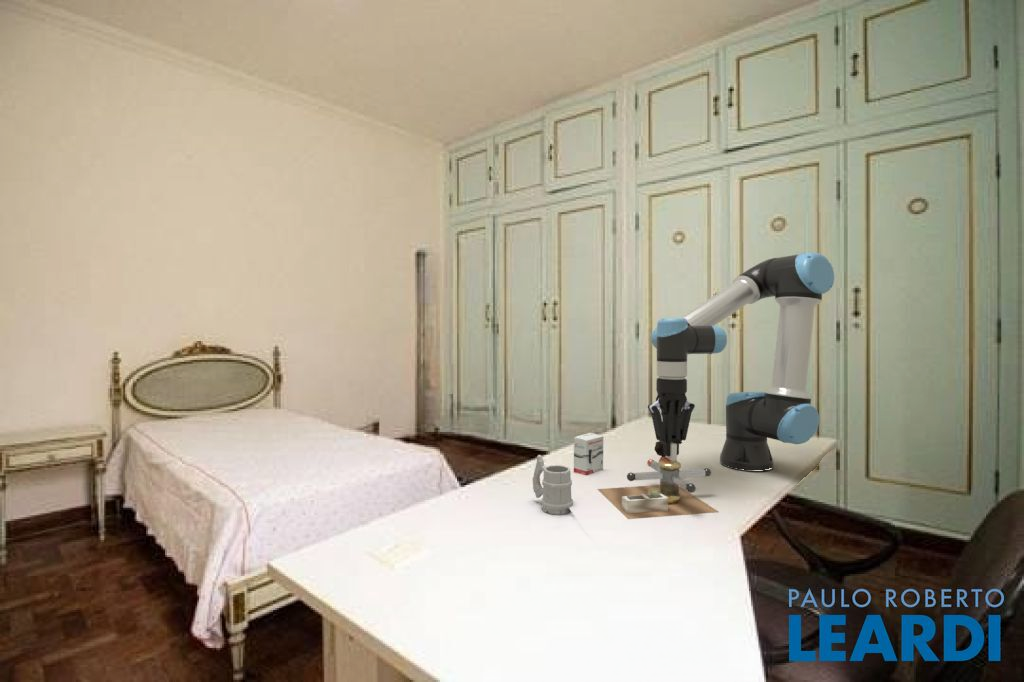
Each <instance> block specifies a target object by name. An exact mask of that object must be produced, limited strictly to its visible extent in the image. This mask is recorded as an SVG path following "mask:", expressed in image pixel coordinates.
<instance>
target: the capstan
mask: <svg viewBox="0 0 1024 682" xmlns="http://www.w3.org/2000/svg"><path fill="white" fill-rule="evenodd" d="M661 457H662V456H661ZM646 463H647V466H648V467H650V468H651V469H653V470H654V471H644V472H643V471H642V472H628V473H627V474H626V479H627V480H628V481H630V482H633V481H646V480H647V481H648V480H649V481H650V480H659V483H660V484H659V485H660V488H653V489H650V490H648V495H650V494H651V491H653V490H655V491H657V492H658V494H663V495H664V496H666V497H667V498H668V503H677V502H679V501H680V493H679V486H680V487H681V488H683V489H684V490H686V491H687V492H689V493H694V492H695V491H696V489H697V488H696V485H695V484H694V483H693V482H690V481H689V480H688V479H685V478H695V477H709V476H711V475H712V471H711V469H710V468H709V467H704V468H693V469H681V465H682V463H681V462H680V461H673V460H670V459H668V458H666V457H662V460H661V461H659V460H658V462H657V461H655V460H653V459H651V458H649V460H647V461H646Z"/></svg>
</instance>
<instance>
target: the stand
mask: <svg viewBox="0 0 1024 682" xmlns="http://www.w3.org/2000/svg"><path fill="white" fill-rule="evenodd" d="M653 488H660V484H656V485H655V484H654V485H641V486H640V485H639V486H624V487H622V486H621V487H607V488H597V491H598V492H600V493H601V495H602V496H604V497H605V499H606V500H608V501H609V502H610V503H611V504H612V505H613V506H614V507H615V508H616V509H617V510H618V511H619V512H620V513H621V514H622V515H623V516H624V517H626V519H627V520H635V519H637V520H638V519H648V518H659V517H660V518H662V517H673V516H674V517H675V516H688V515H699V514H712V513H713V514H714V513H719V512H720V511H719V510H717V509H716V508H714V507H712V506H711V505H709V504H708V503H707V502H705V501H703V500H701V499H700V498H698V497H697V496H695V495H693V494H692V493H691V492H688V491H687V490H686V489H684V488H682V487H681V486H679V493H680V501H679V502H677V503H668V498H667V497H666V496H664V495H663V494H658V492H657V491H655V490H653V491H651V494H650V495H648V490H650V489H653Z"/></svg>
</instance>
